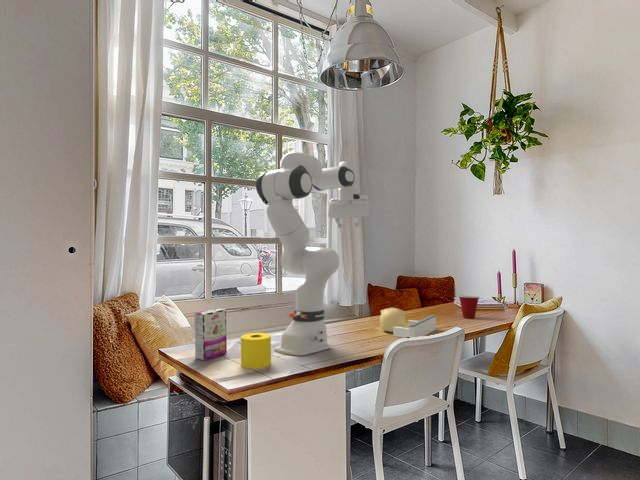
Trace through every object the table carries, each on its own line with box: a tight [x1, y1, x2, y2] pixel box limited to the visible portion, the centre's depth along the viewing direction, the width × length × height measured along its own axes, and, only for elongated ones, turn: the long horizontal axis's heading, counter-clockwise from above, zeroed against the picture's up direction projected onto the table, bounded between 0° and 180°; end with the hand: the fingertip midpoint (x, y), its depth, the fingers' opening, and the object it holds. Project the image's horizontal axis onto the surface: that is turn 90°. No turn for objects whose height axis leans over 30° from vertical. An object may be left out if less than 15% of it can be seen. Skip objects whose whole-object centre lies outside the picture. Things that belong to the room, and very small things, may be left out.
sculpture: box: [379, 307, 406, 333], centre depth 191 cm, size 12×12×11 cm
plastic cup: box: [458, 294, 480, 320], centre depth 222 cm, size 11×11×12 cm
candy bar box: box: [194, 308, 228, 361], centre depth 150 cm, size 11×5×16 cm, turn 148°
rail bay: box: [392, 314, 437, 339], centre depth 185 cm, size 28×11×7 cm, turn 146°
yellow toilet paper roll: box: [240, 332, 272, 370], centre depth 141 cm, size 10×10×9 cm
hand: (348, 227), depth 191 cm, fingers open, 8 cm apart
